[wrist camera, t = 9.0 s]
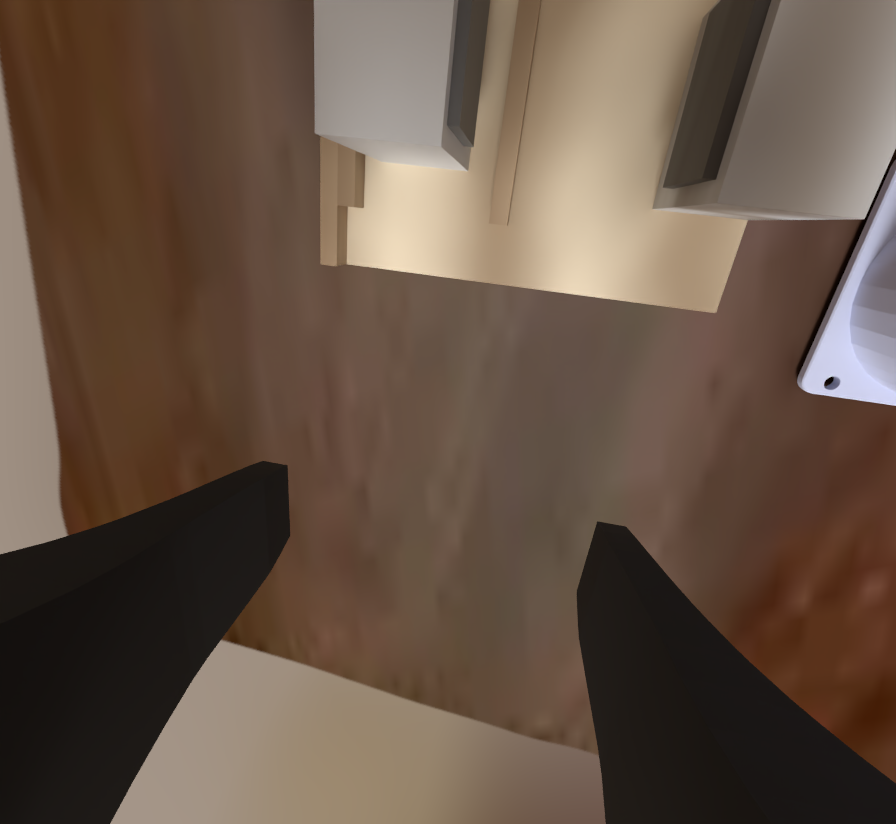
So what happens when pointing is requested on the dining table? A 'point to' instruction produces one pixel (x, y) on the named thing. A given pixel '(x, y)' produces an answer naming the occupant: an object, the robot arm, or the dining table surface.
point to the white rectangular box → (400, 77)
